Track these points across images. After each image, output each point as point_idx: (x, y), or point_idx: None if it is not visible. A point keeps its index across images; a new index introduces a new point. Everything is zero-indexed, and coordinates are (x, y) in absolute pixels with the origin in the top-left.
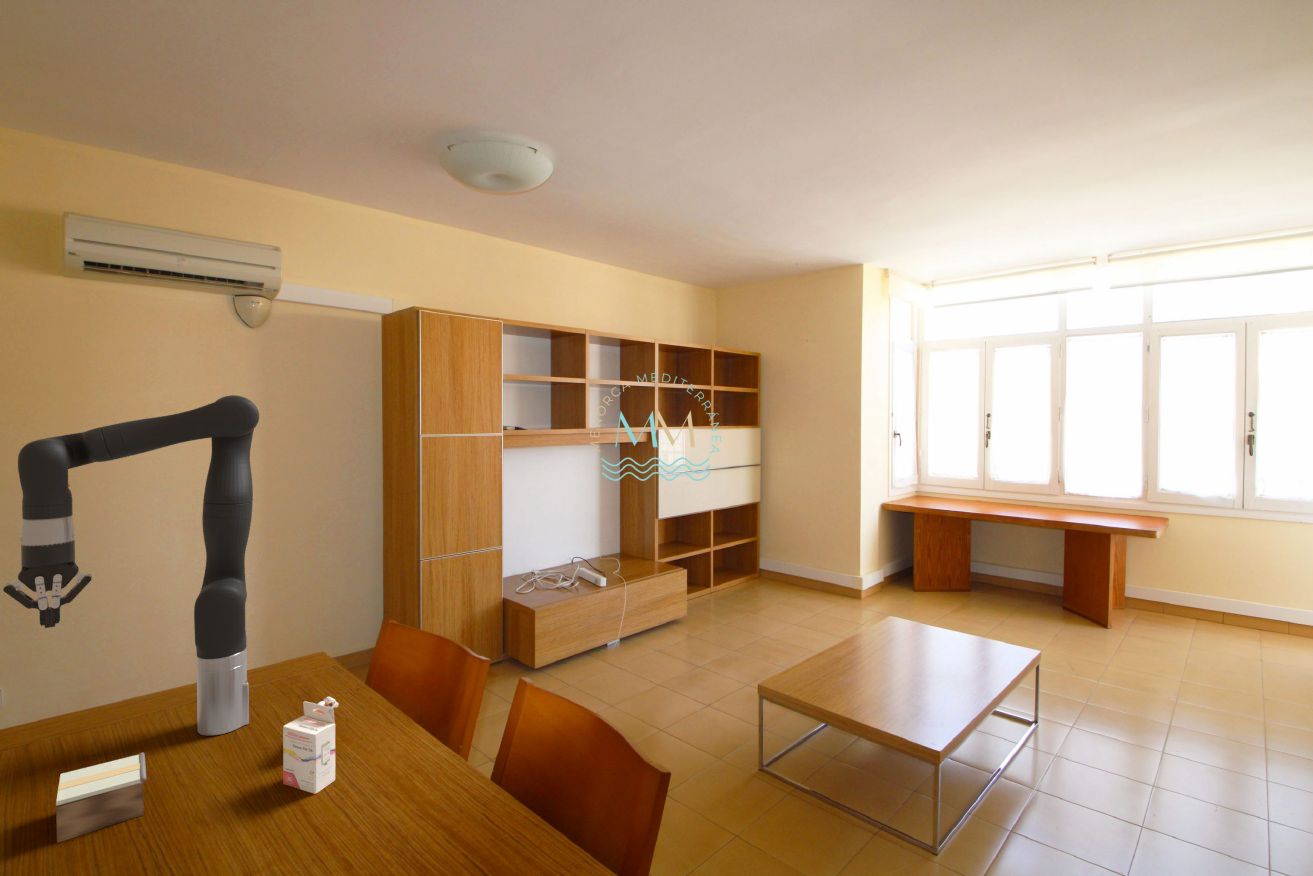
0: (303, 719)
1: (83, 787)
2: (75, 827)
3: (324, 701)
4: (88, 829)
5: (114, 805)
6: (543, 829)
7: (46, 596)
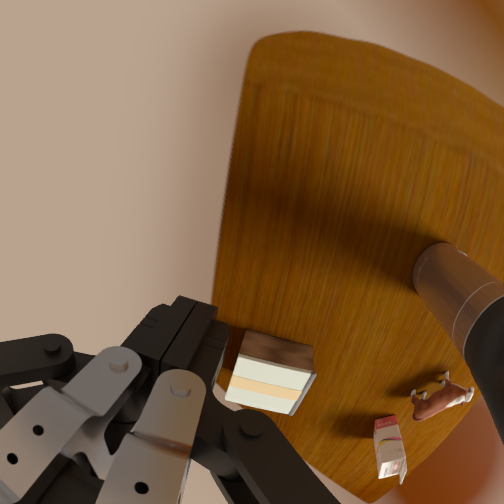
0: (397, 462)
1: (247, 395)
2: None
3: (463, 400)
4: None
5: None
6: (385, 493)
7: (110, 460)
